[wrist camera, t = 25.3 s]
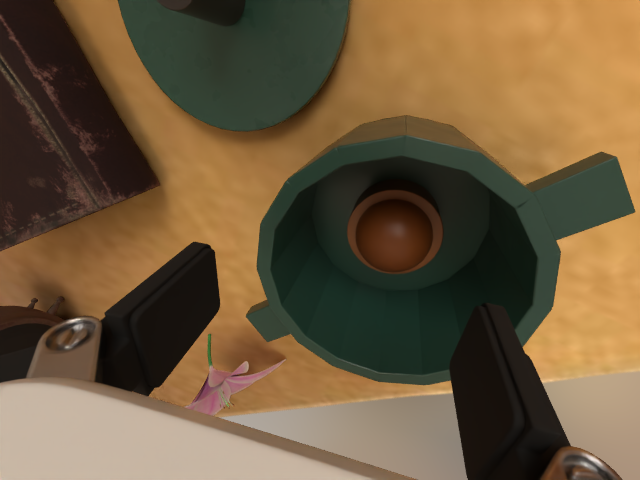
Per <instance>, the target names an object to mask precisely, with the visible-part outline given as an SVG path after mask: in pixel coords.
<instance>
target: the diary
mask: <svg viewBox="0 0 640 480" xmlns="http://www.w3.org/2000/svg"><path fill="white" fill-rule="evenodd" d="M159 185H160V183H159V182H158V180H157V178H156V176H155V175H154V173H153V171H152V170H151V168H150V167H149V165H148V163H147V162H146V160H145V159H144V157H143V155H142V154H141V152H140V150H139V149H138V147H137V146H136V144H135V142H134V141H133V139H132V137H131V136H130V134H129V133H128V131H127V129H126V128H125V126H124V124H123V123H122V121H121V120H120V118H119V116H118V115H117V113H116V112H115V110H114V108H113V107H112V105H111V103H110V102H109V100H108V98H107V96H106V94H105V93H104V91H103V89H102V87H101V85H100V84H99V82H98V80H97V78H96V76H95V75H94V73H93V71H92V69H91V68H90V66H89V64H88V62H87V60H86V59H85V57H84V55H83V53H82V51H81V50H80V48H79V46H78V44H77V42H76V41H75V39H74V37H73V35H72V33H71V32H70V30H69V28H68V26H67V24H66V23H65V21H64V19H63V17H62V15H61V14H60V12H59V10H58V9H57V7H56V5H55V4H54V2H53V0H0V251H2V250H5V249H7V248H9V247H12V246H14V245H17V244H19V243H22V242H24V241H26V240H29V239H31V238H34V237H36V236H39V235H41V234H43V233H46V232H48V231H51V230H53V229H56V228H58V227H61V226H63V225H65V224H68V223H70V222H73V221H75V220H78V219H80V218H82V217H85V216H87V215H90V214H92V213H95V212H97V211H99V210H102V209H104V208H107V207H109V206H112V205H114V204H116V203H119V202H121V201H124V200H126V199H128V198H131V197H133V196H136V195H138V194H141V193H143V192H145V191H148V190H150V189H153V188H155V187H157V186H159Z"/></svg>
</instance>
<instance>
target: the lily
mask: <svg viewBox="0 0 640 480" xmlns="http://www.w3.org/2000/svg"><path fill="white" fill-rule="evenodd" d="M285 360H286V359H285ZM285 360H283V361H281V362H279V363H277V364H276V365H274V366H272V367H270V368H268V369H266V370H264V371H261V372H259V373H256V374H251V375H247V376H239V375H236V374H242V373H246V372H247V371H248V368H249V365H248V362H247V361H245V362H244V363H243V364H241V365H240V366H239V367H238V368H237V369H236V370H235V371H234V372H227V371H221V370H216V369H214V367H213V365H212V361H211V334H208V362H209V369H210V372H209V375H208V377H207V379H206V381H205V383H204V385H203V387H202V388H201V390H200V392H199V393H198V395H197V396H196V398H195V399H194V400H193V402H192V403H191V404H190V405H188V406H185V408H188V409H191V410H195V411H198V412H201V413H204V414H208V415H211V416H213V415H215V414H216V413H217V412H219V411H220V410H221V409H222V408H223V407H224V409H225V405H226V404H227V403H228V402H229V403H230V404H231V402H230V401H229V399H230V396H231V395H232V394H235V393H237V392H239V391H241V390H243V389H245V388H247V387H248V386H250V385H251V384H253V383H254V382H255V381H257V380H259V379H261V378H263V377H265V376H266V375H268V374H269V373H271V372H272V371H273V370H275V369H276V368H277V367H278V366H280V365H281V364H282V363H283V362H284V361H285ZM231 405H232V406H234V405H233V404H231ZM227 406H228V408H230V406H229V405H228V404H227Z"/></svg>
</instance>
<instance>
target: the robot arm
mask: <svg viewBox="0 0 640 480" xmlns="http://www.w3.org/2000/svg"><path fill="white" fill-rule="evenodd" d="M219 308H220V297H219V287H218V278H217V269H216V259H215V252H214V250H213V249H211V246H210V245H208V244H203V243H198V242H193V243H191V244H190V245H189V246H187V247H186V248H185V249H184V250H182V251H181V252H180V253H179V254H177V255H176V256H175V257H174V258H172V259H171V260H170V261H169V262H167V263H166V264H165V265H164V266H162V267H161V268H160V269H159V270H157V271H156V272H155V273H154V274H152V275H151V276H150V277H149V278H147V279H146V280H145V281H144V282H142V283H141V284H140V285H139V286H137V287H136V288H135V289H134V290H132V291H131V292H130V293H129V294H127V295H126V296H125V297H124V298H122V299H121V300H120V301H119V302H117V303H116V304H115V305H114V306H112V307H111V308H110V309H109V310H107V311H106V312H105V316H106V317H104V318H103V319H102V320H101V321H100V320H99V319H98V318H95V317H93V316H79V317H74V318H70V319H67V320H65V321H62V322H60V323H58V324H56V325H55V326H53V327H52V328H50V329H49V330H47V331H46V332H45V333H44V334H43V335H42V337H41V338H40V340H39V342H38V345H36V346H33V347H29V348H26V349H22V350H18V351H15V352H11V353H8V354H4V355H1V356H0V480H416V479H414V478H410V477H407V476H404V475H400V474H398V473H394V472H391V471H388V470H385V469H382V468H379V467H375V466H372V465H369V464H366V463H362V462H359V461H356V460H353V459H350V458H347V457H344V456H340V455H337V454H334V453H331V452H328V451H325V450H321V449H318V448H315V447H312V446H309V445H305V444H302V443H299V442H295V441H292V440H289V439H286V438H282V437H279V436H276V435H273V434H270V433H267V432H263V431H260V430H257V429H253V428H250V427H247V426H244V425H241V424H237V423H234V422H231V421H228V420H224V419H221V418H218V417H214V416H211V415H208V414H204V413H201V412H198V411H195V410H191V409H188V408H185V407H181V406H178V405H175V404H171V403H168V402H165V401H162V400H158V399H155V398H152V397H148V396H149V395H150V393H151V392H152V391H153V389H154V388H155V387H159V386H161V385H162V383H163V382H164V381H165V380H166V378H167V377H168V376H169V375H170V373H171V372H172V371H173V369H174V368H175V367H176V365H177V364H178V363H179V362H180V360H181V359H182V358H183V356H184V355H185V354H186V353H187V351H188V350H189V349H190V347H191V346H192V345H193V343H194V342H195V341H196V340H197V338H198V337H199V336H200V334H201V333H202V332H203V331H204V329H205V328H206V327H207V325H208V324H209V323H210V322H211V320H212V319H213V318H214V316H215V315H216V314H217V312H218V310H219ZM449 371H450V377H451V383H452V389H453V395H454V402H455V408H456V414H457V419H458V426H459V431H460V438H461V443H462V450H463V456H464V462H465V468H466V474H467V478H468V480H622V478H621V477H620V476H619V475H618V474H617V473H616V472H615V471H614V470H613V469H612V468H611V467H610V466H609V465H607V464H606V463H605V462H604V461H602V460H601V459H600V458H598V457H597V456H595V455H593V454H592V453H590V452H588V451H585V450H583V449H581V448H577V447H572V446H571V445H570V443H569V441H568V439H567V437H566V434H565V432H564V430H563V428H562V426H561V424H560V421H559V419H558V417H557V415H556V413H555V410H554V409H553V406H552V404H551V402H550V400H549V397H548V395H547V393H546V391H545V389H544V386H543V384H542V382H541V380H540V378H539V376H538V373H537V371H536V369H535V367H534V365H533V362H532V360H531V359H530V357H529V356H528V355H527V354H525V352H524V350H523V348H522V345H521V343H520V341H519V339H518V336H517V334H516V332H515V330H514V327H513V325H512V323H511V321H510V319H509V316H508V314H507V312H506V310H505V308H504V307H503V306H498V305H494V304H489V303H482V304H481V306H475V307H474V309H473V311H472V314H471V316H470V318H469V320H468V322H467V325H466V327H465V329H464V331H463V333H462V336H461V338H460V340H459V342H458V344H457V346H456V349H455V351H454V353H453V355H452V357H451V360H450V364H449ZM132 391H133V392H132ZM134 392H136V393H134ZM137 393H139V394H137ZM141 394H142V395H141Z"/></svg>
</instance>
